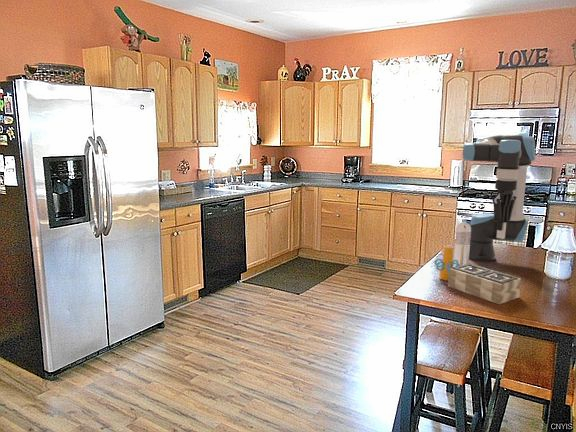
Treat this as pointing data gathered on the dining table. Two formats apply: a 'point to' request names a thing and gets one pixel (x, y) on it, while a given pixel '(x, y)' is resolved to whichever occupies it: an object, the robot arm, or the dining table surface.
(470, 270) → the peg
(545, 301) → the dining table surface
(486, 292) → the socket block
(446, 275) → the ringed orange tube
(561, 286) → the dining table surface
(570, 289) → the dining table surface
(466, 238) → the water bottle
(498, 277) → the peg
